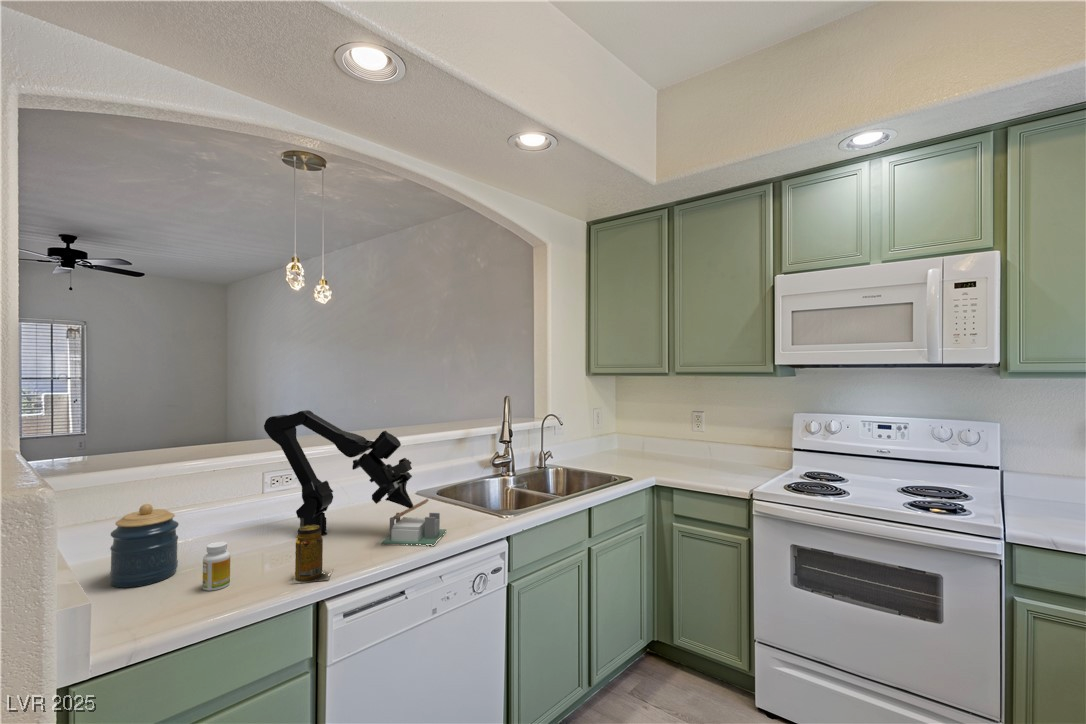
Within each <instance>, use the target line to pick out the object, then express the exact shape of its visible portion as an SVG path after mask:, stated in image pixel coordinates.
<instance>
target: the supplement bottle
mask: <svg viewBox="0 0 1086 724" xmlns="http://www.w3.org/2000/svg"><path fill="white" fill-rule="evenodd" d="M227 549H228V543H227V542H226V541H215V542H212V543H209V544H207V545H206V554H204V556H203V557H202V589H203V591H209V592H210V591H211V592H212V591H217V590H222V589H225V588H227V587H228V586H229V585H230V583H231V553H230V551H228V550H227Z"/></svg>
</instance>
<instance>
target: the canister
mask: <svg viewBox="0 0 1086 724" xmlns="http://www.w3.org/2000/svg"><path fill="white" fill-rule="evenodd" d="M174 517H175V513H173V512H171V511H169V510H167V509H164V508H162V509H161V508H160V509H159V508H154V507H153V505H152V504H150V503H145V504H142V505H141V506H140V507H139V509H138V511H134V512H131V513H127V514H125V515H124V516H123V517H121V518H120V519H118V520H117V521H115V526H116V528H115V529H114V530H112V531H111V532H110V536H111V538H113V542H112V545H111V546H110V572H109V580H110V585H112V586H113V587H116V588H133V587H135V588H136V587H143V586H149V585H151V584H154V583H158V582H161V581H164V580H166V579H169V578H171V577H172V576H174V575H175V574H176V573H177V571H178V570H177V569H178V565H179V564H178V563H179V561H178V540H179V535H178V534H177V528H178V527H179V524H180V523H179V522H178V521H176V520H175V519H174Z"/></svg>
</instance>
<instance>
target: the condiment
mask: <svg viewBox="0 0 1086 724" xmlns="http://www.w3.org/2000/svg"><path fill="white" fill-rule="evenodd" d="M296 538H297V539H296V541H295V561H294V562H295V565H294V567H295V568H294V577H293V578H292V579H291V581H290V583H289V584H290V585H291V584H292V585H293V584H305V583H311V582H320V581H321V582H322V581H328V580H330V578H331V576H330V577H329V576H328V574H329V573H331V571H334V568H329V569H327V568H325V569H323V560H324V559H323V549H324V548H323V547H324V543H323V542H324V540H323V539H324V537H323V535H321V526H318V525H307V526H303V527H300V526H299V528H298V529H297V537H296ZM322 572H323V573H322ZM324 573H325V574H324Z"/></svg>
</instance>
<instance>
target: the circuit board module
mask: <svg viewBox="0 0 1086 724" xmlns="http://www.w3.org/2000/svg"><path fill="white" fill-rule="evenodd" d="M399 513H400V512H396V513H395V515H396V514H399ZM440 515H441V513H440V512H429V516H425V517H408V516H405V517H403V516H402V517H399V518H397V519H395V520H394V516H391V517H390V518H389V535H388V536H387V537H385V538H384V539H383V540H382V541H381V544H405V545H406V544H408V545H411V544H412V545H416V544H418V545H419V544H421V545H426V544H432V545H434V544H435V543H436V541H437V540H438V539H439V538H440V537H441V536H442V535H443V534H444V533H445V531H446V532H447V529H445V528H444V529H443V528H441V527H440V524H441V523H440V522H441V521H440V520H441V519H440ZM445 534H446V533H445ZM445 534H444V535H445ZM444 535H443V536H444ZM443 536H442V537H443ZM436 544H437V543H436ZM405 545H404V546H405Z"/></svg>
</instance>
